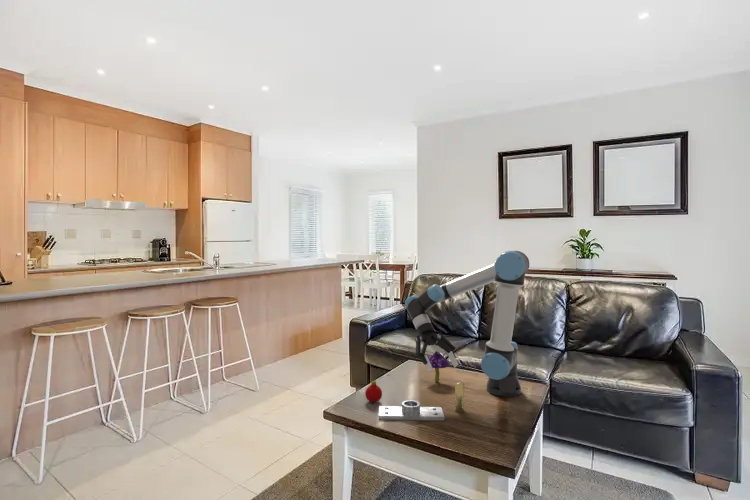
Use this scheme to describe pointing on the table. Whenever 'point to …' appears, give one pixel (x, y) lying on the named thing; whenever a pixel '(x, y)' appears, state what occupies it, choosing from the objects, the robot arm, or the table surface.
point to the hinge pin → (459, 396)
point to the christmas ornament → (373, 392)
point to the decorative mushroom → (438, 363)
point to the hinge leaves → (410, 412)
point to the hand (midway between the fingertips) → (443, 368)
